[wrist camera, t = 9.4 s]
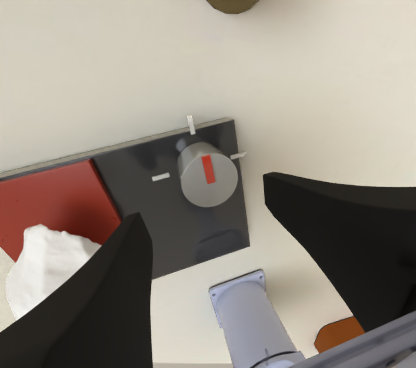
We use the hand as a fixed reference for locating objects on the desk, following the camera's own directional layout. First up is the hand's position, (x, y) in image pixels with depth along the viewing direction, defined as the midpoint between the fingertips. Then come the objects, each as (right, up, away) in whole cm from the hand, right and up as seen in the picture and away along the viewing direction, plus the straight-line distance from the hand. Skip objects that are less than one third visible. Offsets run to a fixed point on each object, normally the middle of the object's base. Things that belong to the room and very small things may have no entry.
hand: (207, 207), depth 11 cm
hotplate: (-11, -4, +6) cm, 13 cm away
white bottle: (-11, -5, +6) cm, 13 cm away
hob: (-7, -2, +8) cm, 10 cm away
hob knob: (-1, +3, +5) cm, 6 cm away
